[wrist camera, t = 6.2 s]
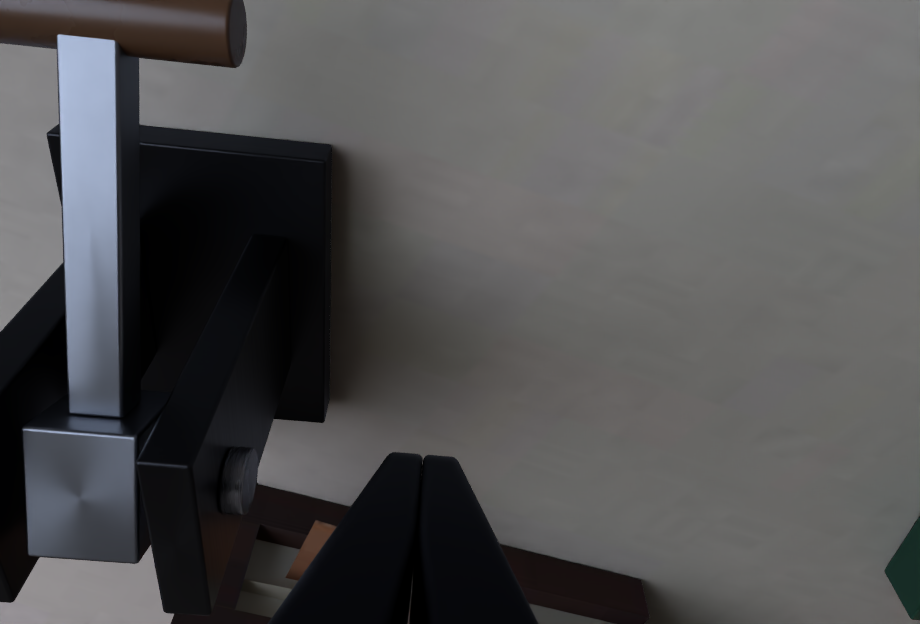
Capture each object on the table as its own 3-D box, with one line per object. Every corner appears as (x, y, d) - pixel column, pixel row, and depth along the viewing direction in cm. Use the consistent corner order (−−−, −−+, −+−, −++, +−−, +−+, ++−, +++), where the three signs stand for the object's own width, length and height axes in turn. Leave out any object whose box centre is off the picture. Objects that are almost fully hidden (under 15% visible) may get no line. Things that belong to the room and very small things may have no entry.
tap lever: (-8, -28, 14) (-94, -56, 12) (255, 1, 15) (220, -21, 12) (18, 493, 17) (-48, 552, 15) (239, 510, 17) (209, 570, 15)
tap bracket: (66, 116, 20) (-217, 329, 12) (332, 143, 20) (241, 369, 12) (116, 382, 25) (-56, 662, 16) (329, 399, 25) (264, 682, 17)
